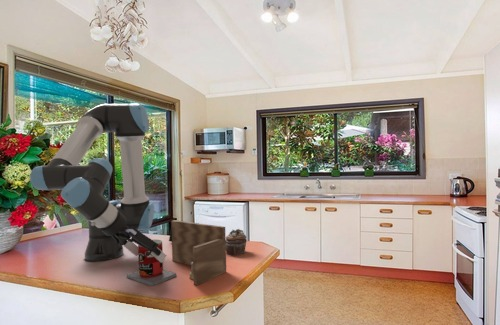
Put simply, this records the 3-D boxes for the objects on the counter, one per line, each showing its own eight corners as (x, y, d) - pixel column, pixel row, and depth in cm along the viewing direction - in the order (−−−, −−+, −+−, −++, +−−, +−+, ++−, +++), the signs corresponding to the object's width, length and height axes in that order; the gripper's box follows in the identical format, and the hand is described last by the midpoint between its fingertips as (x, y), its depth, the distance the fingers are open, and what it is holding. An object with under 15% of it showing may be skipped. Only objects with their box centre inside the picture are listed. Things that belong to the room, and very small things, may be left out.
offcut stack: (189, 278, 105) (189, 263, 105) (207, 270, 112) (207, 256, 112) (198, 280, 102) (197, 265, 102) (216, 272, 110) (216, 258, 110)
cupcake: (238, 248, 141) (237, 226, 141) (251, 253, 133) (250, 229, 133) (220, 252, 135) (219, 229, 135) (232, 257, 127) (231, 233, 127)
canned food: (134, 275, 106) (133, 243, 106) (153, 268, 113) (152, 238, 113) (148, 279, 102) (147, 246, 102) (167, 272, 108) (166, 240, 108)
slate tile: (126, 277, 107) (126, 274, 107) (150, 269, 115) (150, 266, 115) (152, 286, 99) (151, 282, 99) (176, 276, 107) (176, 273, 107)
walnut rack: (144, 270, 114) (143, 226, 114) (175, 259, 126) (174, 220, 126) (196, 285, 98) (195, 235, 98) (226, 271, 110) (225, 226, 110)
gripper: (79, 225, 100) (122, 259, 112) (124, 234, 85) (168, 272, 97) (95, 206, 104) (135, 241, 116) (140, 211, 90) (181, 251, 102)
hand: (150, 255), depth 107 cm, fingers open, 13 cm apart
